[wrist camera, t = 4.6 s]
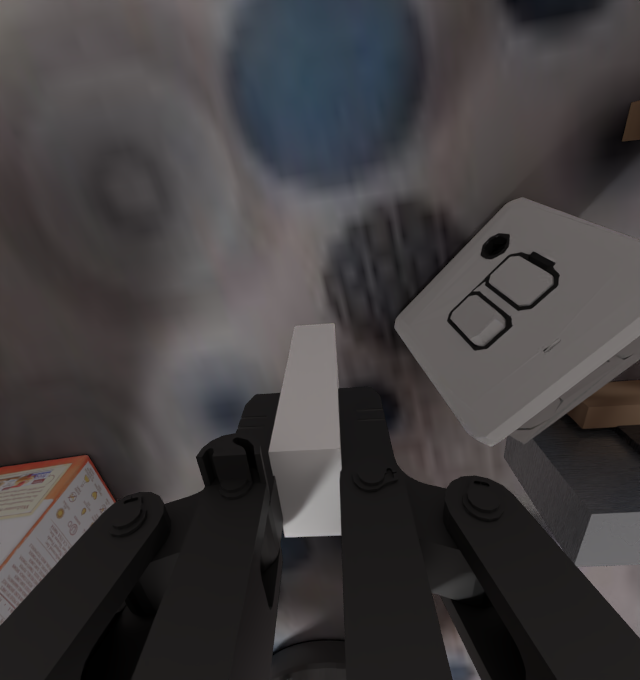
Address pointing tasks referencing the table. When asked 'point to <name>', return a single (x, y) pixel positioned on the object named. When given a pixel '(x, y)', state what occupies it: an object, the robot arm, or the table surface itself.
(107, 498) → the cracker box
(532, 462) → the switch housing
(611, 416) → the bay
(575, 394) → the electrical switch
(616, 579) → the table surface
